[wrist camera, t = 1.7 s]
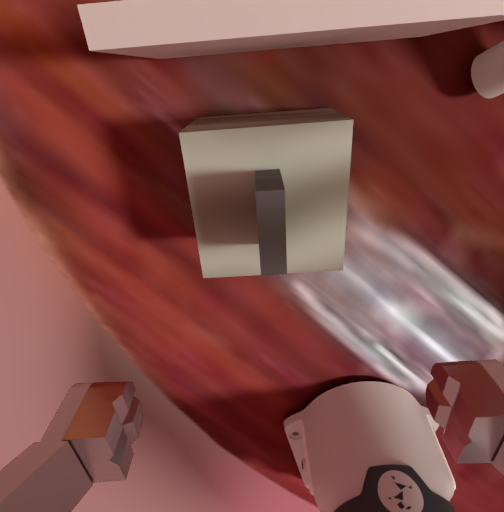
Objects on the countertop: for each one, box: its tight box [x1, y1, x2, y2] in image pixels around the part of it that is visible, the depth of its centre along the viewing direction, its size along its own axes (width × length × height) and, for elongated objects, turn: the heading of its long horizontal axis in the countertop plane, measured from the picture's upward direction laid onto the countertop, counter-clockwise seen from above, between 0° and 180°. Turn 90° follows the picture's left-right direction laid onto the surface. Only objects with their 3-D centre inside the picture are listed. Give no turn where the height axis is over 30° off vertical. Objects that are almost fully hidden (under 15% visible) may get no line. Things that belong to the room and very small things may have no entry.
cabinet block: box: [179, 108, 353, 278], centre depth 23 cm, size 10×10×11 cm
